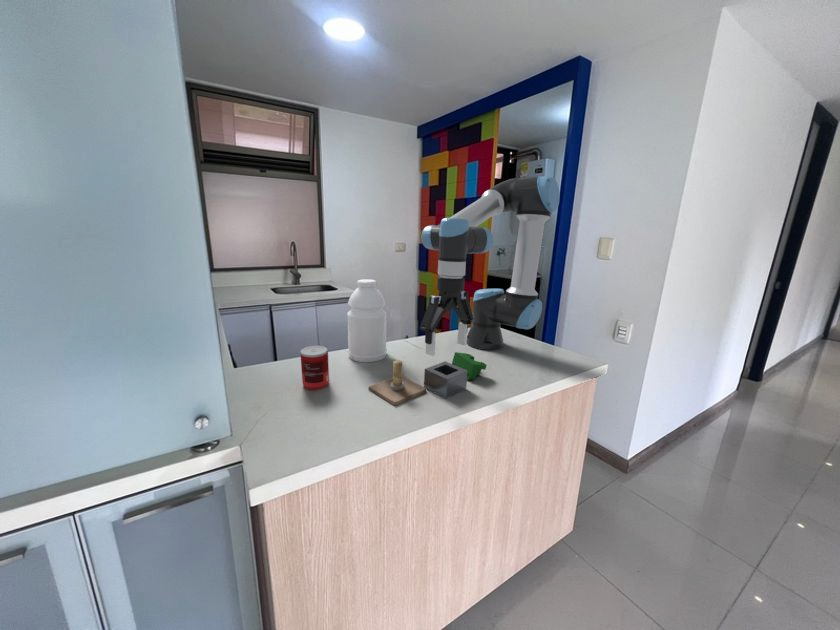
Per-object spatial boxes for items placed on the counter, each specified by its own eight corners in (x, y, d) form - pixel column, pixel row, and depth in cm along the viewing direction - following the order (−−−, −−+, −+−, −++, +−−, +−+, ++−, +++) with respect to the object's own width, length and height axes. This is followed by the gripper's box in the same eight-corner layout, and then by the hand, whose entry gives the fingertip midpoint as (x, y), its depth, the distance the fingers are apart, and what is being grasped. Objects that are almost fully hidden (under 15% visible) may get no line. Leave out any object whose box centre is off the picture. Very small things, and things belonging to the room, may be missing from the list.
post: (399, 377, 106) (400, 351, 104) (426, 391, 98) (427, 363, 96) (368, 389, 98) (368, 361, 96) (394, 405, 90) (394, 375, 88)
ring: (444, 378, 107) (445, 361, 105) (466, 388, 101) (467, 370, 99) (424, 387, 101) (424, 368, 99) (446, 398, 95) (447, 379, 93)
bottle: (393, 353, 127) (394, 280, 119) (372, 366, 115) (371, 285, 107) (363, 346, 133) (362, 276, 125) (340, 357, 121) (337, 281, 114)
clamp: (477, 389, 110) (491, 369, 106) (462, 388, 107) (476, 368, 103) (462, 363, 119) (475, 344, 115) (449, 361, 116) (461, 342, 112)
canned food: (321, 376, 106) (319, 343, 103) (334, 384, 101) (332, 350, 98) (297, 383, 101) (295, 349, 98) (310, 393, 95) (308, 357, 93)
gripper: (468, 272, 103) (463, 337, 108) (408, 277, 86) (405, 354, 91) (488, 275, 98) (482, 343, 103) (428, 281, 81) (424, 363, 86)
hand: (446, 349), depth 97 cm, fingers open, 13 cm apart
